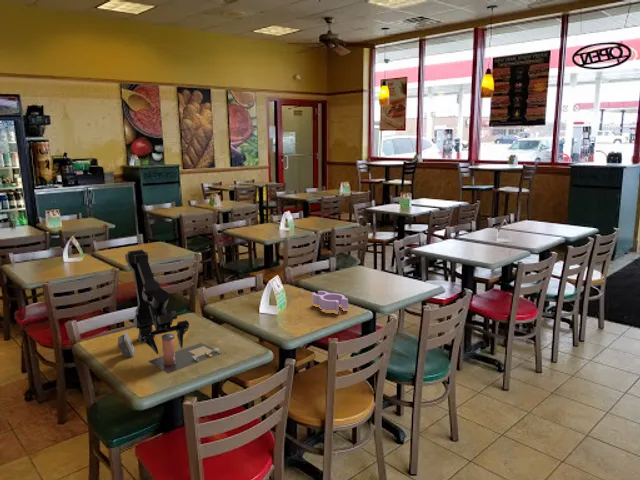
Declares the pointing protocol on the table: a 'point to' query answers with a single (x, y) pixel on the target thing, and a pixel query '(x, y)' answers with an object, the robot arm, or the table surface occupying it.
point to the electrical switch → (126, 345)
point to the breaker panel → (187, 357)
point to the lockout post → (168, 349)
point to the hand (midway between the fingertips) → (170, 350)
